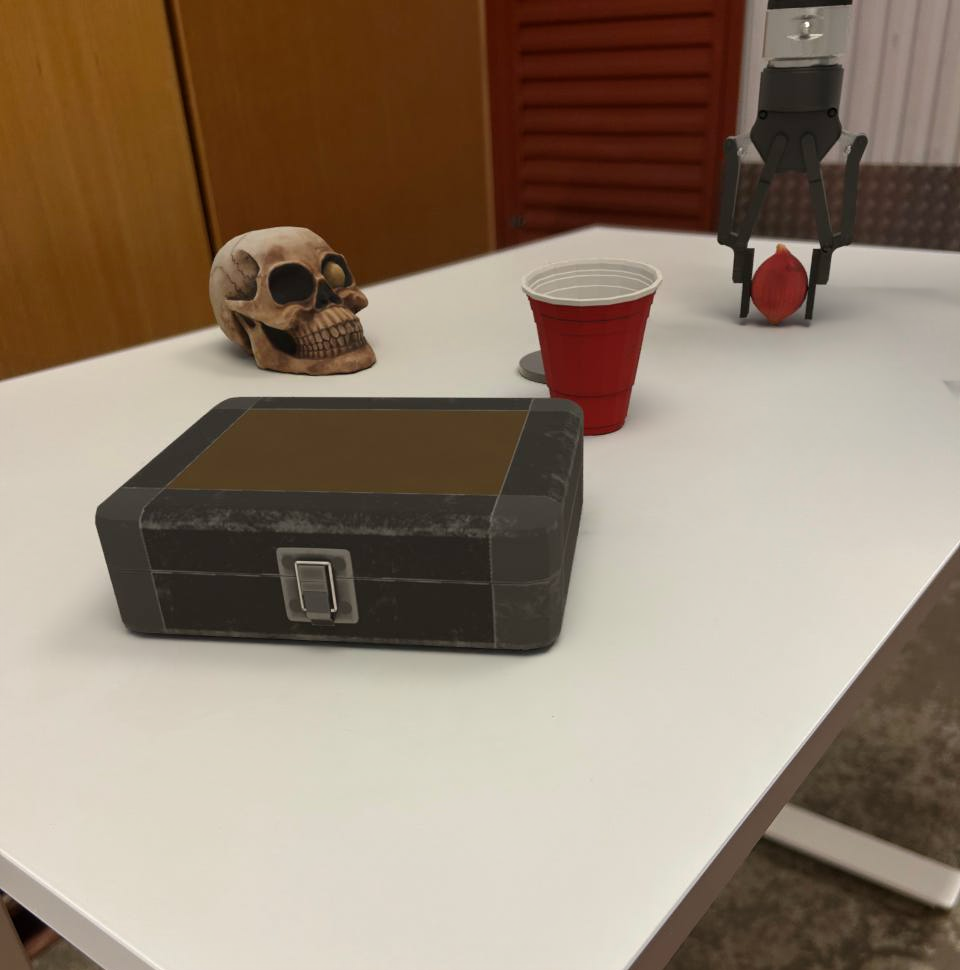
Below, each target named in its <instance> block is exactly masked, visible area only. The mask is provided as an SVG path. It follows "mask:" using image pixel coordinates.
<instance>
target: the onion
mask: <svg viewBox="0 0 960 970" xmlns="http://www.w3.org/2000/svg"><path fill="white" fill-rule="evenodd" d="M808 276H809V275H808V273H807V270H806V268H805V267H804V264H803V263H802V262H801V261H800V260H799V259H798V258H797V256H795V255H794V254H793V253H792V252H791V251H790V249H788V248H787V246H786V244H783V243H778V244H777V245H776V249H775V252H774V254H772V255H771V256H768V258H766V259H765V260H764V261H763V262H762V263H760V265H759V266H757V269H756V270H755V272H754V274H753V275H752V282H751V287H750V300H751V302H752V304H753V305H754V307H755V308H756V309H757V311H759V312H760V313H761V314H762V316H764V318H765V319H766V320H767V322H769V324H772V325H777V324H779V323H782V321H784V320H785V319H787V318H789V317H790V316H792V315H793V314H795V313H796V312H797V311H798V310H799V309H800V308H801V307H802V306H803V304H804V302H805V301H806V300H807V293H808V285H809V278H808Z"/></svg>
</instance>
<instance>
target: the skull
mask: <svg viewBox="0 0 960 970" xmlns="http://www.w3.org/2000/svg"><path fill="white" fill-rule="evenodd" d="M208 283H209V285H208V289H209V300H210V303H211V307H212V311H213V314H214V316H215V320H216V322H217V324H218V326H219V328H220V330H221V331H222V332H223V334H224V335H225V336H226V337H227V338H228V339H229V340H230V341H231V342H233V343H234V344H236V345H238V346H239V347H240V348H241V349H242V350H244V351H245V352H246V353H247V354H248V355H251V356H252V355H253V356H254V359H255V362H256V365H257V367H258V368H260V369H262V370H265V369H270V370H273V371H276V372H277V371H279V372H282V373H293V374H308V375H310V376H325V375H331V374H339V373H341V374H343V373H345V374H347V373H353V372H357V371H360V370H365V369H367V368H368V367H370V366H372V365H373V364H374V362H377V356H376V352H375V351H374V349H373V347H372V346H371V344H370V343H369V342H368V341H367V339H366V337H365V335H364V332H365V331H364V327H363V325H362V323H361V319H360V317H359V316H358V313H359V312H361V311H363V310H364V309H366V308H367V307H368V306H369V300H368V298H367V296H366V294H365V293H364V292H363V291H362V290H361V289H360V288H359V287H358V286H357V284H356V279H355V277H354V275H353V273H352V272H351V270H350V268H349V265H348V262H347V260H346V258H345V256H344V255H343V254H341V253H337V252H336V251H334V250H333V249H332V248H331V246H330V245H329V244H328V243H327V242H326V241H325V239H323V238H322V237H321V236H319V235H318V234H316V233H315V232H313V230H311V229H308V228H306V227H298V226H276V227H270V228H263V229H258V230H257V229H256V230H252V231H248V232H245V233H242V234H240V235H237V236H234V237H233V238H232V239H230V240H229V241H226V243H225V244H224V245H223V246H222V247H221V248H220V249H219V250H218V252H217V253H216V254H215V257H214V259H213V262H212V265H211V267H210V273H209V282H208Z"/></svg>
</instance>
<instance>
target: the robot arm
mask: <svg viewBox="0 0 960 970" xmlns="http://www.w3.org/2000/svg"><path fill="white" fill-rule="evenodd" d="M853 1H854V0H767V6H766V11H765V20H764V31H763V32H764V33H763V44H762V45H763V46H762V55H761V57H762V59H763V60H764V61H766V62H767V61H768V63H767V64H766V67H764V68H763V69H762V71H760V77H759V78H760V79H759V90H758V100H757V112H756V118H755V121H754V123H753V125H752V127H751V128H750V131H747V132H745V133H742V134H738V135H736V136H734V135H729V136H728V137H727V138H726V139H725V140H724V141H723V143H722V150H723V155H724V159H725V165H726V166H725V173H724V182H723V189H722V196H721V197H722V198H721V205H720V212H719V214H720V215H719V221H718V229H717V237H716V241H717V244H719V245H720V246H725V247H727V248H730V249H731V250H732V251H733V260H732V261H733V262H732V275H731V279H732V283H733V284H742V286H741V297H740V308H739V309H740V310H739V319H747V318H748V316H749V313H750V304H751V297H750V287H751V282H752V278H753V272H754V263H755V249H756V248H755V247H748V246H749V241H750V239H751V236H752V234H753V231H754V229H755V226H756V223H757V221H758V218H759V215H760V213H761V211H762V208H763V206H764V203H765V200H766V197H767V195H768V193H769V190H770V187H771V185H772V182H773V179H774V178H775V174H785V173H788V172H794V173H798V174H806V177H807V182H808V187H809V192H810V198H811V201H812V202H811V204H812V208H813V214H814V219H815V225H816V231H817V237H818V240H819V241H818V242H819V248H812V253H811V260H810V270H809V275H808V276H809V278H808V292H807V296H806V300H805V301H806V302H805V310H804V318H803V320H804V321H812V320H813V316H814V315H813V314H814V306H815V297H816V291H817V290H816V289H817V286H826V285H827V284H828V282H829V280H830V273H831V265H832V258H833V254H834V252H835V251H836V250H837V249H840V248H843V247H848V246H850V245H852V243H853V241H854V234H855V233H854V232H855V219H856V211H857V210H856V209H857V208H856V207H857V198H858V197H857V196H858V183H859V173H860V162H861V160H862V158H863V155H864V153H865V151H866V149H867V146H868V143H869V138H868V135H867V134H866V132H865V133H864V132H859V133H857V132H854V131H850V130H846V129H843V125H842V122H841V120H840V105H841V98H842V91H843V82H844V75H845V68H844V67H843V64H840V63H839V60H840V59H839V58H843V57H844V56H845V55H846V54H847V52H848V51H847V50H848V43H849V37H850V36H849V34H850V29H851V28H850V27H851V26H850V25H851V19H852V12H853V11H852V10H853V6H852V5H853ZM837 142H839V143H840V144H841V155H842V156H843V157H845V158H846V163H845V169H844V184H843V197H842V210H841V222H840V223H841V224H840V231H839V232H836V233H833V230H832V224H831V219H830V218H831V217H830V212H829V206H828V201H827V196H826V190H825V183H824V178H823V171H822V164H821V163H822V161H823V160H824V159H825V157H826V156H827V155H828V154H829V152H830V151H831V150H832V149H833V147H834V146H835V145H836V143H837ZM751 144H753V147H754V148H755V150H756V151H757V153H758V155H759V157H760V158H761V160H762V162H763V163H764V165H763V168H762V171H761V173H760V175H759V179H758V181H757V184H756V187H755V190H754V193H753V195H752V198H751V200H750V203H749V205H748V208H747V211H746V212H745V213H746V214H745V216H744V219H743V221H742V224H741V226H740V229H739V232H738V233H736V232H734V231H733V225H734V219H735V218H734V217H735V211H736V210H735V209H736V203H737V194H738V188H739V182H740V175H741V174H740V173H741V166H742V165H741V164H742V162H741V161H742V159H743V158H745V157H746V155H747V153H748V147H749V145H751Z"/></svg>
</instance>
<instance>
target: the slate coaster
mask: <svg viewBox="0 0 960 970" xmlns="http://www.w3.org/2000/svg"><path fill="white" fill-rule="evenodd" d="M518 371H519V374H520V375H521V376H522V377H524V378H526V379H527V380H529V381H533V382H536V383H540V384H541V383H542V384H546V385H547V383H546V377H545V372H544V366H543V361H542V355H541V349H539V350H536V351H532V352H530V353H527V354H525V355H523V356H522V357H521V358H520V359H519V361H518Z"/></svg>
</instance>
